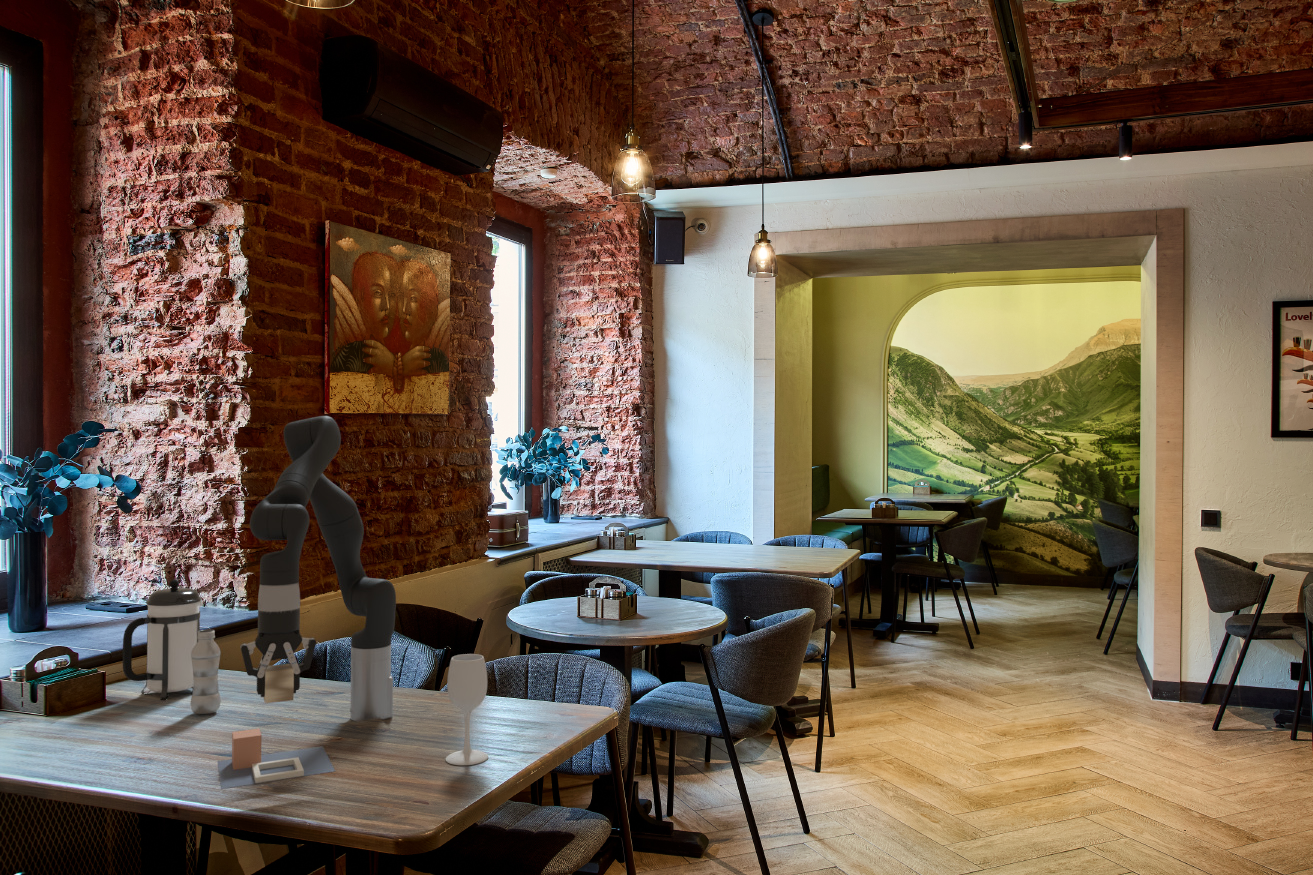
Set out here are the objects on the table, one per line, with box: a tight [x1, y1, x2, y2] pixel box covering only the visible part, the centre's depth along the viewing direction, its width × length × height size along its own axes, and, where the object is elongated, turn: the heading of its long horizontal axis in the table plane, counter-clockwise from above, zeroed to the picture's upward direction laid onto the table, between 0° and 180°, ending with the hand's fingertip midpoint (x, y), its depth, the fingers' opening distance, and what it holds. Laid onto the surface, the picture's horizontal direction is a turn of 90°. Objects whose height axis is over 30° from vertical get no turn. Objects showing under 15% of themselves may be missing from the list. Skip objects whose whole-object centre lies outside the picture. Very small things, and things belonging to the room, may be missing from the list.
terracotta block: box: [231, 728, 263, 770], centre depth 180 cm, size 5×5×6 cm
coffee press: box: [122, 579, 204, 701], centre depth 238 cm, size 17×16×30 cm
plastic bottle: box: [189, 629, 222, 715], centre depth 220 cm, size 6×7×20 cm
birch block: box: [262, 663, 295, 704], centre depth 175 cm, size 5×5×6 cm
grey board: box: [217, 746, 336, 790], centre depth 179 cm, size 20×17×2 cm
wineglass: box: [445, 653, 489, 766], centre depth 188 cm, size 9×9×21 cm
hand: (278, 693), depth 175 cm, fingers closed on birch block, 5 cm apart
